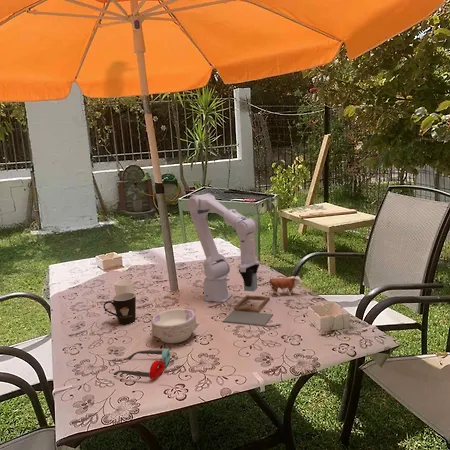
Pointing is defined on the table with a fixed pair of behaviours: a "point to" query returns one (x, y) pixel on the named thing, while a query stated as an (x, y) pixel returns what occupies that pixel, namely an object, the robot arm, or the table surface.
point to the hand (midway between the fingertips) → (250, 284)
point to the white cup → (124, 286)
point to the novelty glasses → (154, 367)
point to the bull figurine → (284, 284)
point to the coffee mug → (124, 307)
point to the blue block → (254, 283)
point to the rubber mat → (248, 318)
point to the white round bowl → (174, 325)
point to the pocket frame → (239, 308)
